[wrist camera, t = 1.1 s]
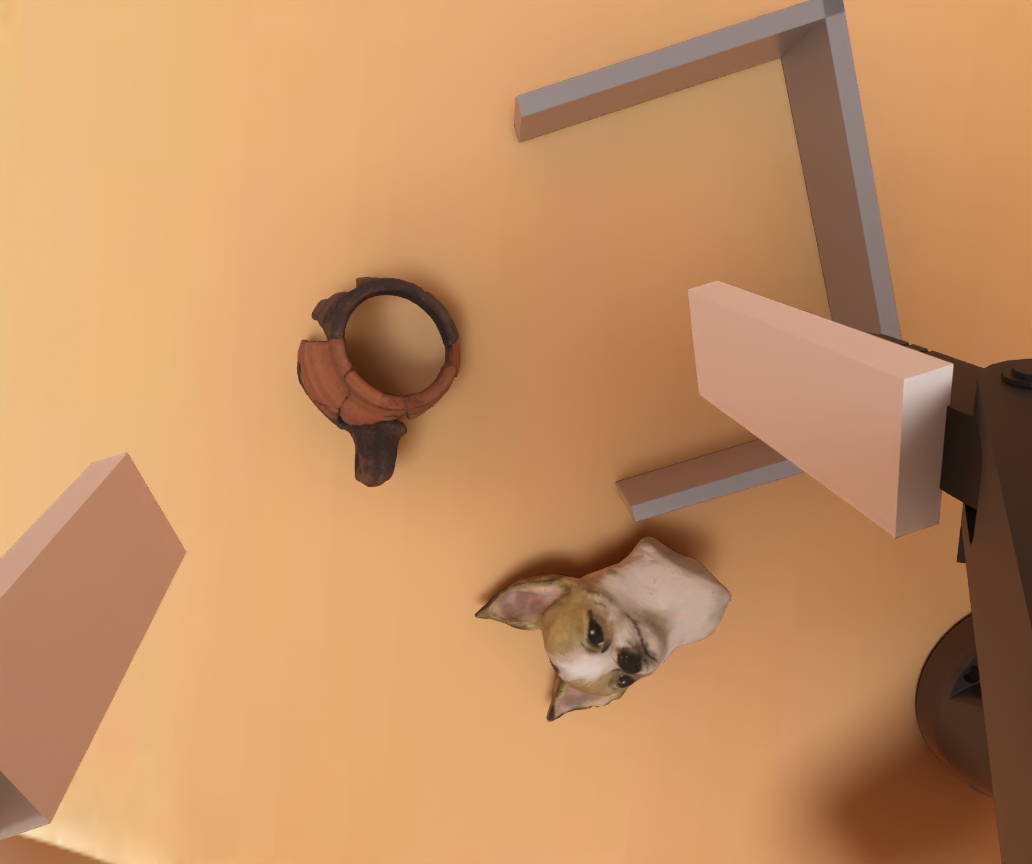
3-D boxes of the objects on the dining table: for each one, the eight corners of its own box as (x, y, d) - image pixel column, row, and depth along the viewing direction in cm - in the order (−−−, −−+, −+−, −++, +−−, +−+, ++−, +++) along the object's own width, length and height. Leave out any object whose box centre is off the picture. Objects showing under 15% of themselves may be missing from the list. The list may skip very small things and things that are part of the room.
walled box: (867, 421, 40) (918, 438, 35) (619, 495, 41) (635, 521, 36) (794, 33, 35) (841, -11, 30) (514, 125, 36) (515, 96, 31)
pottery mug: (283, 303, 38) (300, 257, 31) (426, 307, 43) (471, 267, 35) (299, 494, 38) (321, 493, 30) (443, 478, 42) (493, 474, 35)
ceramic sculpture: (784, 684, 34) (555, 795, 36) (736, 605, 43) (552, 700, 45) (694, 531, 32) (458, 659, 35) (661, 481, 41) (474, 586, 43)
